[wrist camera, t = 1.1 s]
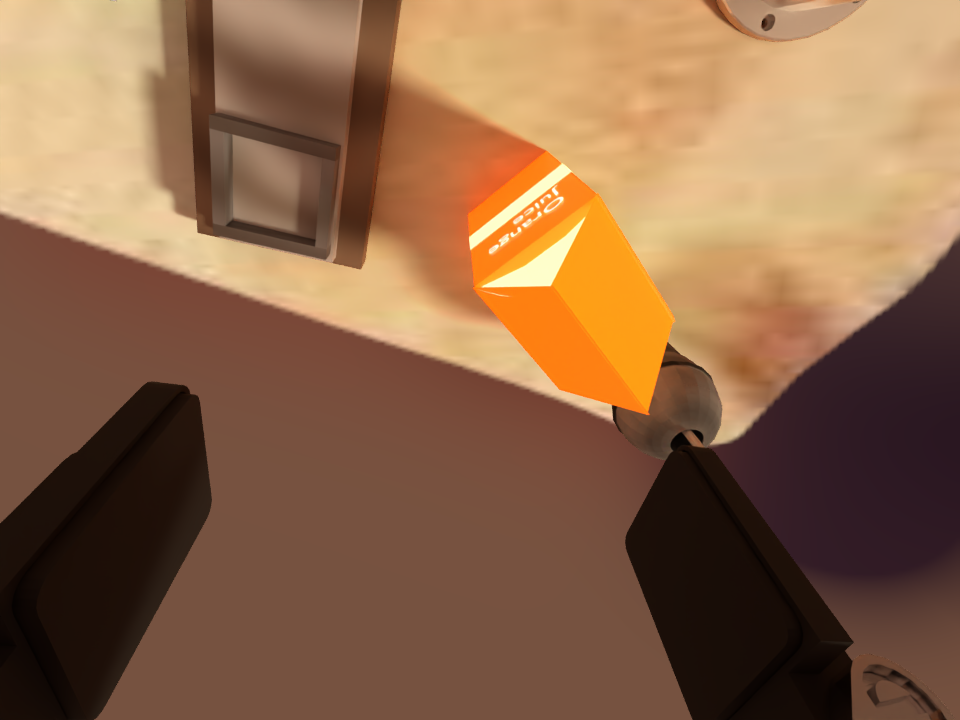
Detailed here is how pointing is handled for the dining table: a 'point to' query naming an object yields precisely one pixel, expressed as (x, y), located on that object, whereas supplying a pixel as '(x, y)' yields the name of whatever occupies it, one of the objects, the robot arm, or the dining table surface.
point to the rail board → (290, 120)
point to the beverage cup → (674, 409)
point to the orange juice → (570, 285)
